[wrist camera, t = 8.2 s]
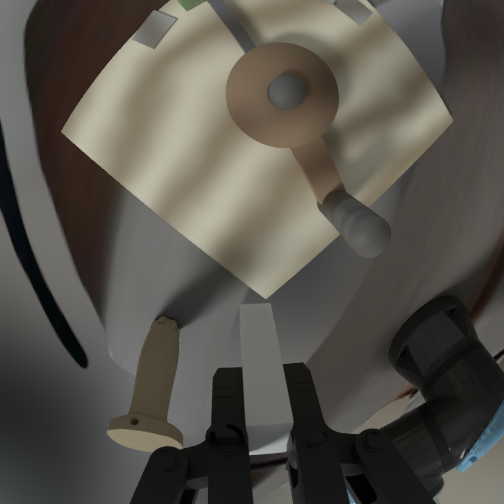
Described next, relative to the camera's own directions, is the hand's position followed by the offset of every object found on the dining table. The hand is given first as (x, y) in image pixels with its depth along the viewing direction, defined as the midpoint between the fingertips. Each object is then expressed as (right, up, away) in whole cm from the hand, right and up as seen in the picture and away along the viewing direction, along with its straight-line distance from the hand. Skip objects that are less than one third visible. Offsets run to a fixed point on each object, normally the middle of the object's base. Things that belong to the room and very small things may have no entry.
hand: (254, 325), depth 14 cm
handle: (-10, -5, +17) cm, 20 cm away
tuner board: (+2, +16, +7) cm, 18 cm away
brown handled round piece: (+1, +17, +5) cm, 17 cm away
